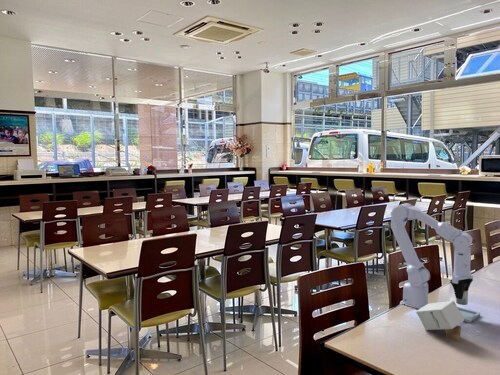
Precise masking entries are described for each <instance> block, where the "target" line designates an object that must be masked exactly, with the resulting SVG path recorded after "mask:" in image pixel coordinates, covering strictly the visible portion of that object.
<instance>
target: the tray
mask: <svg viewBox="0 0 500 375" xmlns="http://www.w3.org/2000/svg"><path fill="white" fill-rule="evenodd" d="M457 307H458V309H459V311H460V313H461V314H462V316H463V318H464V321H463V322H464V323H467V324H472V323H473V322H474V321H476V320H477V319H478V318H479V317H480V316H481V312H478V311H475V310H471V309H467V308H463V307H460V306H457ZM463 322H462V323H463Z"/></svg>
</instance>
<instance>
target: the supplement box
mask: <svg viewBox="0 0 500 375" xmlns="http://www.w3.org/2000/svg"><path fill="white" fill-rule="evenodd" d="M428 303H429V304H427V305H425V306H424V307H422V308H420V309H417V310H416V311H415V313H416V314H417V316H418V318H419V320H420V322H421V325H422V327H423V328H424V330H425V331H433V330H435V331H436V330H446V329H453V328H454V327H456V326H457V325H458V326H460V325H461V323H463V321H464V318H463V316H462V314H461V313H460V311H459V309H458V307H459V306H457V303H456V301H455V300H448V301H447V300H446V301H441V302H440V301H439V302H432V303H430V302H428Z"/></svg>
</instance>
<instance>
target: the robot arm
mask: <svg viewBox="0 0 500 375" xmlns="http://www.w3.org/2000/svg"><path fill="white" fill-rule="evenodd" d="M390 216H391V219H390V228H391V230H392V233H393V235H394V238H395V240H396V242H397V244H398V247H399V249H400V251H401V253H402V256H403V259H404V260H405V263H406V266H407V267H406V272H407V276H408V277H407V279H408V281H407V282H405V283H404V285H403V289H402V302H401V304H402V305H404V304H405V305H404V306H408V307H411V308H415V309H417V310H419V309H420V308H422V307H424V306H425V305H427V304H429V303H430V302H429V283H428V281H429V280H430V278H431V274H430V271H429V269H427V268H426V267H425V264H424V263H423V262H421V261H420V259H419V257H418V255H417V251H416V250H415V247H414V246H413V243H412V241H411V239H410V236H409V234H408V232H407V229H406V224H407V223H408V220H418V221H420V222H422V223H423V224H425V225H426V226H429V227H431V228H433V230H435V233H436V234H437V235H438V236H440V237H441V238H443V239H445V240H447V241H448V242H450V243H452V245H453V247H454V251H453V252H454V253H453V273H452V278H451V279H450V284H451V286H452V288H453V291H454V295H455V299H456V298H458V299H462V298H463V293H464V290H467V291H468V292H469V289H470V287H471V284H472V283H473V281H474V275H472V270H471V262H472V259H471V258H472V257H471V255H472V252H471V251H472V249H471V245H472V244H473V237H472V236H471V235H470V233H468V232H466V231H463V230H461V229H459V228H456V227H455V226H453V225H452V223H450V222H446V221H438V220H437V219H435V218H434V217H432V216H431V215H429V214H427V213H426V212H425V211H423V210H422V209H421V208H419V207H417V206H415V205H413V204H412V203H409V202H404V203H402V204H397V205H395V206H394V207H393V208H392V210H391V212H390Z"/></svg>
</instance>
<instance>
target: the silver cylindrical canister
mask: <svg viewBox="0 0 500 375" xmlns="http://www.w3.org/2000/svg"><path fill="white" fill-rule="evenodd" d="M468 299H469V290H468V291H467V290H464V293H463V298H462V299H458V298H456V297H455V303H456V305H457V304H458V305H462V306H467V305H468V303H469V302H468V301H469V300H468Z"/></svg>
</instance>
